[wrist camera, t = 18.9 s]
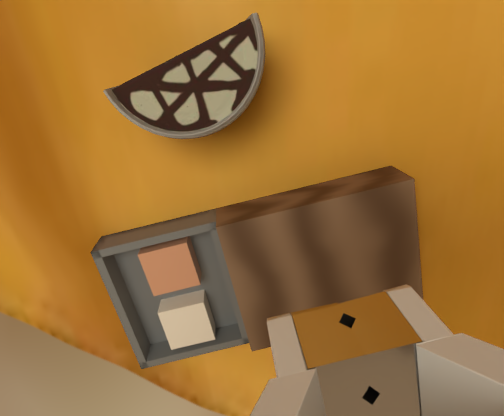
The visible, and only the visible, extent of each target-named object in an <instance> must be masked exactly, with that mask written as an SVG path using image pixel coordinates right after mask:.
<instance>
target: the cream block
mask: <svg viewBox="0 0 504 416" xmlns="http://www.w3.org/2000/svg"><path fill="white" fill-rule="evenodd" d="M158 316H159V319H160V321H161V324H162V326H163V329H164V332H165V334H166V337H167V340H168V342H169V345H170V348H171V350H173V349H177V348H181V347H185V346H190V345H194V344H198V343H202V342H207V341H211V340H215V327H216V325H215V322H214V319H213V315H212V312H211V309H210V306H209V303H208V299H207V296H206V293H205V290H200V291H195V292H191V293H187V294H183V295H178V296H174V297H170V298H166V299H162V300H161V301H160V305H159V309H158Z"/></svg>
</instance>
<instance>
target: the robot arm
mask: <svg viewBox="0 0 504 416" xmlns="http://www.w3.org/2000/svg"><path fill="white" fill-rule="evenodd" d="M267 327H268V333H269V338H270V343H271V349H272V354H273V360H274V365H275V370H276V376H277V378H273V379H270V380H269V381H268V383H267V385H266V387H265V389H264V390H263V392H262V394H261V396H260V398H259V400H258V402H257V403H256V405H255V407H254V409H253V411H252V413H251V414H250V416H504V349H502V348H499V347H497V346H494V345H492V344H489V343H487V342H484V341H481V340H479V339H476V338H474V337H471V336H469V335H466V334H463V333H460V334H455V335H454V334H453V333H452V332H451V331H450V330H449V328H448V327H447V326H446V325H445V324H444V323H443V322H442V321H441V319H440V318H439V317H438V316H437V315H436V314H435V313H434V312H433V310H432V309H431V308H430V307H429V306H428V305H427V304H426V303H425V302H424V300H423V299H422V298H421V297H420V296H419V295H418V294H417V293H416V291H415V290H414V289H413V288H412V287H411V286H409V285H407V284H406V285H402V286H398V287H395V288H391V289H387V290H384V291H383V292H379V293H375V294H371V295H367V296H363V297H359V298H355V299H351V300H347V301H343V302H339V303H333V304H328V305H323V306H319V307H314V308H310V309H305V310H301V311H296V312H291V314H290V313H288V314H283V315H279V316H275V317H271V318H267Z"/></svg>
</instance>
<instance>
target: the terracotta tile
mask: <svg viewBox="0 0 504 416" xmlns="http://www.w3.org/2000/svg"><path fill="white" fill-rule="evenodd" d="M138 257H139V260H140V262H141V265H142V268H143V270H144V273H145V275H146V278H147V280H148V283H149V285H150V288H151V291H152V293H153V296H157V295H161V294H165V293H169V292H173V291H177V290H181V289H185V288H189V287H193V286H198V285H201V273H202V272H201V269H200V266H199V263H198V260H197V257H196V254H195V251H194V248H193V245H192V242H191V239H190V236H187V237H183V238H179V239H175V240H171V241H167V242H163V243H158V244H154V245H150V246H146V247H142V248H140V250H139V253H138Z"/></svg>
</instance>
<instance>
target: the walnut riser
mask: <svg viewBox="0 0 504 416" xmlns="http://www.w3.org/2000/svg"><path fill="white" fill-rule="evenodd" d="M216 229H217V233H218V236H219V240H220V243H221V247H222V250H223V254H224V257H225V260H226V264H227V267H228V271H229V274H230V278H231V281H232V285H233V288H234V291H235V295H236V298H237V302H238V305H239V309H240V312H241V316H242V319H243V323H244V326H245V329H246V333H247V336H248V340H249V343H250V347H251V350H252V351H255V350H259V349H263V348H267V347H271V343H270V338H269V333H268V327H267V318H271V317H275V316H279V315H283V314H288V313H290V314H291V312H296V311H301V310H305V309H310V308H314V307H319V306H323V305H328V304H333V303H339V302H343V301H347V300H351V299H355V298H359V297H363V296H367V295H371V294H375V293H379V292H383V291H384V290H387V289H391V288H395V287H398V286H402V285H406V284H407V285H409V286H411V287H412V288H413V289H414V290H415V291H416V293H417V294H418V295H419V296H420V297H421V298H422V299H423V291H422V278H421V264H420V250H419V237H418V223H417V210H416V196H415V183H414V178H412V177H410V176H408V175H407V174H405V173H403V172H401V171H400V170H398V169H396V168H394V167H393V166H388V167H384V168H380V169H376V170H372V171H368V172H364V173H360V174H355V175H351V176H347V177H343V178H339V179H335V180H331V181H327V182H323V183H319V184H315V185H310V186H306V187H302V188H298V189H294V190H290V191H286V192H282V193H278V194H274V195H270V196H266V197H261V198H257V199H253V200H249V201H245V202H241V203H237V204H233V205H229V206H225V207H221V208H216Z"/></svg>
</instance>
